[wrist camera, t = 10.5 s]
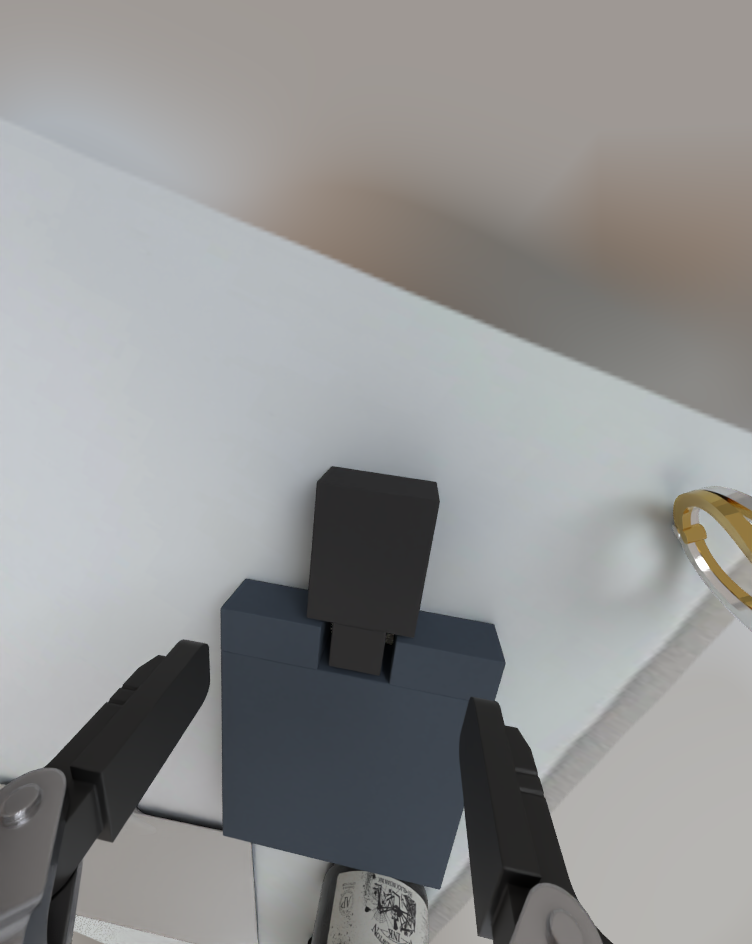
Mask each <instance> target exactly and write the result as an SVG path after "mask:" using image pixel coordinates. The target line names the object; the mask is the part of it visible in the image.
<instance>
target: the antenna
mask: <svg viewBox="0 0 752 944" xmlns="http://www.w3.org/2000/svg"><path fill="white" fill-rule="evenodd" d="M4 786H6V785H3V784H0V789H2V788H3V787H4ZM76 915H79V916H83V917H87V918H91V919H95V920H99V921H104V922H108V923H112V924H116V925H120V926H124V927H128V928H132V929H136V930H140V931H144V932H148V933H152V934H156V935H160V936H164V937H168V938H173V939H177V940H181V941H185V942H189V943H193V944H258V934H257V919H256V905H255V890H254V875H253V861H252V846H251V843H250V842H246V841H242V840H238V839H234V838H230V837H226V836H223V831H221V830H216V829H211V828H207V827H202V826H197V825H192V824H188V823H183V822H178V821H173V820H169V819H164V818H159V817H154V816H150V815H145V814H143V813H141V812H140V811H139V810H138V809H137V808H135V809H134V811H133V813H132V814H131V816H130V817H129V819H128V820H127V822H126V823H125V825H124V827H123V828H122V830H121V831H120V833H119V834H118V836H117V837H116V839H115V840H114V842H113V843H111V842H107V841H103V840H99V839H96V840H95V842H94V843H93V845H92V846H91V848H90V849H89V851H88V852H87V853H86V855H85V856H84V858H83V867H82V874H81V881H80V888H79V895H78V902H77V909H76Z"/></svg>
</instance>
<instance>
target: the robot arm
mask: <svg viewBox="0 0 752 944" xmlns="http://www.w3.org/2000/svg"><path fill="white" fill-rule="evenodd" d="M209 685H210V663H209V646H208V644H205V643H200V642H195V641H190V640H181V641H179V642H178V643H177V644H176V645H175V646H174V648H173V649H172V650H171V651H170V652H169V653H168V654H167V656H161V655H158V656H156V657H155V658H153V659H151V660H150V661H148V662H147V663H145V664H144V665H142V666H141V667H139V668H138V669H137V670H136V671H135V672H134V673H133V674H132V676H131V677H130V678H129V679H128V680H127V681H126V682H125V683H124V684H123V687H122V688H119V689H118V690H117V692H116V693H115V694H114V695H113V696H112V697H111V698H110V700H109V702H106V703H105V704H104V705H103V706H102V708H101V709H100V710H99V711H98V712H97V713H96V714H95V715H94V716H93V717H92V718H91V719H90V720H89V721H88V722H87V724H86V725H85V726H84V727H83V728H82V729H81V730H80V731H79V732H78V733H77V734H76V735H75V736H74V737H73V738H72V740H71V741H70V742H69V743H68V744H67V745H66V746H65V747H64V748H63V749H62V750H61V751H60V752H59V753H58V754H57V756H56V757H55V758H54V759H53V760H52V761H51V762H50V763H49V764H47V765H46V766H45V767H44V768H41V769H37V770H33V771H31V772H28V773H26V774H24V775H22V776H20V777H18V778H16V779H15V780H13V781H11V782H10V783H8V784H7V785H6V786H4V787H3V788H2V789H0V944H71V942H72V936H73V929H74V922H75V915H76V909H77V902H78V895H79V888H80V881H81V874H82V867H83V858H84V856H85V855H86V853H87V852H88V851H89V849H90V848H91V846H92V845H93V843H94V842H95V840H96V839H99V840H103V841H107V842H111V843H113V842H114V840H115V839H116V837H117V836H118V834H119V833H120V831H121V830H122V828H123V827H124V825H125V823H126V822H127V820H128V819H129V817H130V816H131V814H132V813H133V811H134V809H135V808H136V806H137V805H138V803H139V802H140V800H141V799H142V797H143V795H144V794H145V792H146V791H147V789H148V788H149V786H150V785H151V783H152V782H153V780H154V778H155V777H156V775H157V774H158V772H159V771H160V769H161V768H162V766H163V764H164V763H165V761H166V760H167V758H168V757H169V755H170V754H171V752H172V751H173V749H174V747H175V746H176V744H177V743H178V741H179V740H180V738H181V737H182V735H183V733H184V732H185V730H186V729H187V727H188V726H189V724H190V723H191V721H192V720H193V718H194V716H195V715H196V713H197V712H198V710H199V709H200V707H201V706H202V704H203V702H204V700H205V698H206V695H207V693H208V689H209ZM459 762H460V771H461V781H462V790H463V800H464V810H465V819H466V829H467V838H468V848H469V857H470V867H471V876H472V886H473V895H474V905H475V914H476V924H477V933H478V936H480V937H484V938H488V939H492V940H493V944H613V943H612V942H610V940H608V939H607V938H606V937H605V936H604V935H603V934H602V933H601V932H600V930H599V929H598V928H597V927H596V926H595V925H594V923H593V921H592V920H591V918H590V916H589V915H588V913H587V912H586V911H585V909H584V908H583V907H582V905H581V904H580V903H579V901H578V899H577V897H576V895H575V892H574V890H573V888H572V885H571V882H570V880H569V877H568V873H567V870H566V866H565V863H564V860H563V856H562V853H561V849H560V846H559V843H558V839H557V836H556V833H555V829H554V826H553V823H552V819H551V816H550V812H549V809H548V806H547V802H546V799H545V798H544V795H543V794H544V792H543V789H542V785H541V782H540V779H539V777H538V772H537V768H536V765H535V762H534V758H533V755H532V752H531V749H530V747H529V746H528V744H527V742H526V741H525V739H524V738H523V736H522V735H521V733H520V731H519V730H518V728H515V727H510V726H505V725H504V721H503V717H502V713H501V709H500V706H499V703H498V702H496V701H491V700H486V699H481V698H476V697H470V699H469V702H468V706H467V710H466V714H465V718H464V722H463V725H462V729H461V733H460V740H459Z"/></svg>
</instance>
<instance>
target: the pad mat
mask: <svg viewBox="0 0 752 944" xmlns="http://www.w3.org/2000/svg"><path fill="white" fill-rule="evenodd" d="M308 592H309V590H304V589H299V588H294V587H288V586H283V585H277V584H272V583H266V582H261V581H255V580H250V579H245V580H244V581H243V582H242V584H241V585H240V586H239V587H238V588H237V589H236V591H235V592H234V593H233V594H232V595H231V597H230V598H229V599H228V600H227V601H226V602H225V604H224V605H223V606H222V607H221V686H222V802H223V836H226V837H230V838H234V839H238V840H242V841H246V842H250V843H254V844H258V845H262V846H267V847H271V848H275V849H279V850H283V851H287V852H291V853H295V854H299V855H303V856H307V857H311V858H315V859H319V860H323V861H327V862H331V863H335V864H339V865H343V866H347V867H351V868H355V869H359V870H363V871H367V872H371V873H375V874H379V875H383V876H387V877H391V878H395V879H399V880H403V881H407V882H411V883H415V884H419V885H423V886H427V887H431V888H435V889H440V888H441V884H442V881H443V877H444V874H445V870H446V867H447V863H448V860H449V857H450V853H451V850H452V846H453V843H454V839H455V836H456V832H457V829H458V825H459V822H460V818H461V815H462V812H463V808H464V800H463V790H462V781H461V771H460V762H459V740H460V733H461V729H462V725H463V722H464V718H465V714H466V710H467V706H468V702H469V699H470V697H476V698H481V699H486V700H491V701H495V698H496V694H497V691H498V687H499V684H500V681H501V677H502V674H503V670H504V667H505V659H504V656H503V653H502V649H501V646H500V643H499V639H498V636H497V632H496V629H495V626H494V624H489V623H484V622H478V621H473V620H467V619H462V618H456V617H451V616H445V615H440V614H435V613H429V612H424V611H419V614H418V620H417V625H416V630H415V636H414V638H411V637H406V636H401V635H394V641H393V646H392V645H386V644H385V646H384V652H383V659H382V665H381V671H380V675H379V676H378V675H373V674H368V673H363V672H358V671H353V670H348V669H343V668H338V667H333V666H329V655H330V646H331V636H332V634H330V626H331V622H327V621H322V620H317V619H311V618H307V605H308Z"/></svg>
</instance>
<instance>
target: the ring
mask: <svg viewBox="0 0 752 944" xmlns="http://www.w3.org/2000/svg"><path fill="white" fill-rule="evenodd" d="M700 508H701V509H703V510H704V511H706V512H707V513H709V514H710V515H711V516H712V517H713V518H714V519H715V520H717V522H718V523H719V524H720V525H721V526H722V527H723V528H724V529H725V530H726V531H727V533H728V534H729V535H730V536H731V538H732V539H733V540H734V541H735V543H736V544H737V545H738V547H739V548H740V549H741V551H742V552H743V553H744V554H745V556H746V557H747V558H748V560H749V561H750V562H751V564H752V525H751V524H750V523H749V522H751V523H752V497H751V496H749V495H747V494H744V493H742V492H739V491H737V490H734V489H730V488H726V487H720V486H710V487H705V488H701V489H698V490H693V491H690V492H687V493H684V494H681V495H679V496H678V497H677V498H676V500H675V502H674V507H673V516H674V523H675V524H673V525H672V529H673V533H674V535H675V536H676V538H679V541H680V543H681V545H682V547H683V550H684V552H685V554H686V555H687V557H688V559H689V561H690V562H691V564H692V566H693V567H694V569H695V570H696V572H697V573H698V575H699V576H700V578H701V579H702V580H703V582H704V583H705V584H706V585H707V587H708V588H709V589H710V590H711V592H712V593H713V594H714V595H715V596H716V598H717V599H718V600H719V601H720V602H721V603H722V604H723V605H724V606H725V607H726V608H727V609H728V610H729V611H730V612H731V613H732V614H733V615H734V616H735V617H736V618H737V619H738V620H739V621H740V622H741V623H742V624H743V625H744V626H746V627H747V628H748V629H749V630H750V631H752V597H751V596H750V595H749V594H747V593H746V592H745V591H744V590H742V589H741V588H740V587H739V586H738V585H737V584H736V583H735V582H733V581H732V580H731V579H730V578H729V577H728V575H727V574H726V573H725V572H724V571H723V570H722V569H721V567H720V566H719V565H718V564H717V562H716V561H715V559H714V558H713V556H712V555H711V553H710V551H709V549H708V548H707V546H706V543H705V541H704V539H706V538H707V535H706V531H705V529H704V527H703V526H702V525H701V524H699V509H700Z"/></svg>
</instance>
